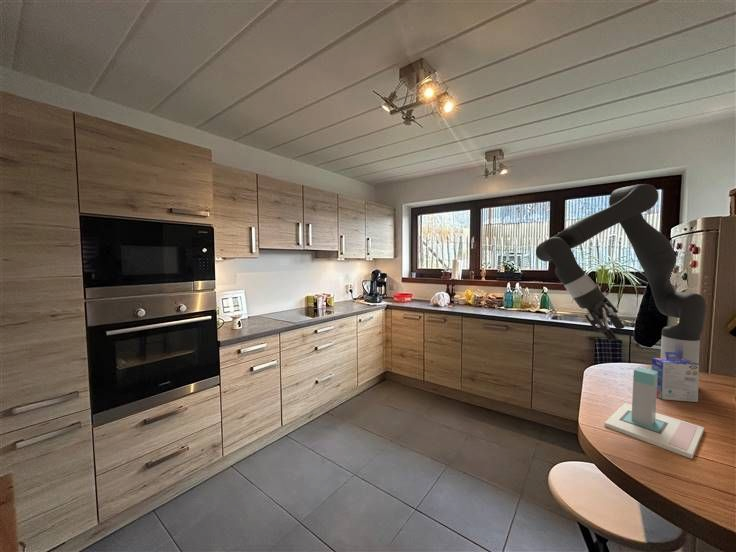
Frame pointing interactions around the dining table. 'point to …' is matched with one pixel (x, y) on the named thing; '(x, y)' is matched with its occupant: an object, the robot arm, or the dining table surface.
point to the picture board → (659, 431)
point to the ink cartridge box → (676, 378)
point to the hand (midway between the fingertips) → (617, 334)
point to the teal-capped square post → (644, 396)
